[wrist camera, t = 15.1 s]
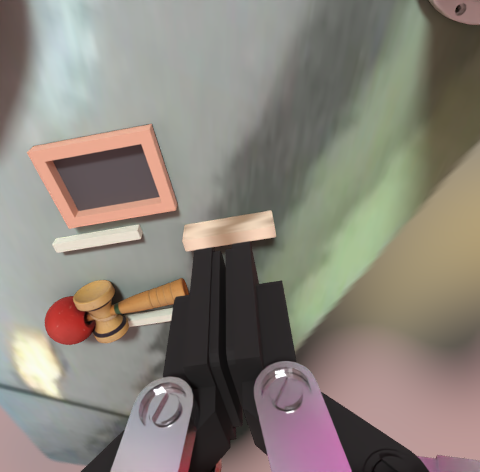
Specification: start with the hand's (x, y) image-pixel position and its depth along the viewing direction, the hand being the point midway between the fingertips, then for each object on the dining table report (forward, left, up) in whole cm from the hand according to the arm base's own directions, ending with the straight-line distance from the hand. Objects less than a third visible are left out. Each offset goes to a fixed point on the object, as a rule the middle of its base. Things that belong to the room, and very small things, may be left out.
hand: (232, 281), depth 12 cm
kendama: (+19, +25, -28) cm, 41 cm away
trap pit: (+14, +8, -27) cm, 32 cm away
